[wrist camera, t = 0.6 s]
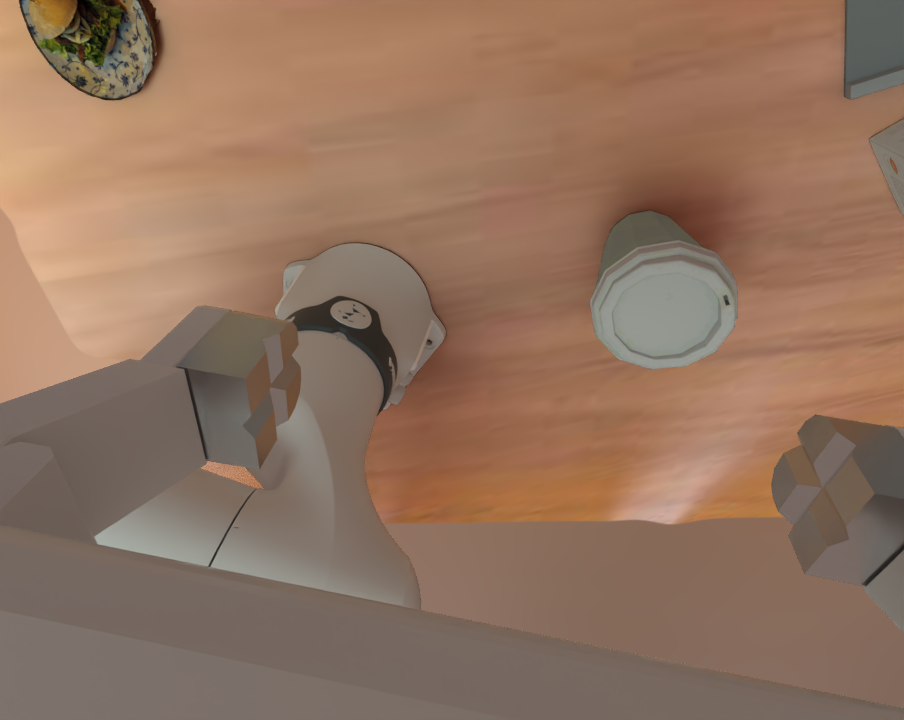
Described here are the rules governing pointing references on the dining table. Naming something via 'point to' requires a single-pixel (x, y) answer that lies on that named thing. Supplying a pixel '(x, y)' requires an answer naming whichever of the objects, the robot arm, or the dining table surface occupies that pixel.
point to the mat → (873, 46)
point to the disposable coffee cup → (661, 294)
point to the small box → (892, 158)
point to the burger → (95, 42)
